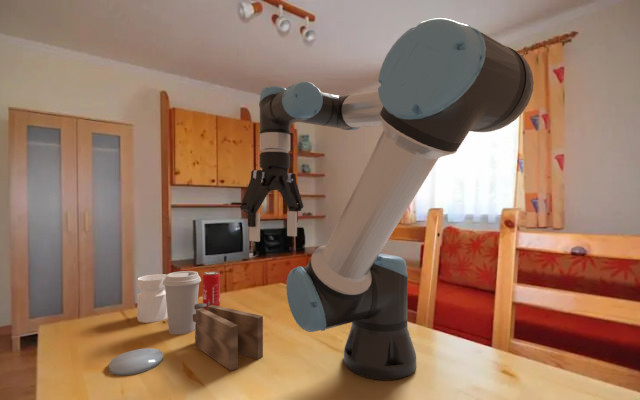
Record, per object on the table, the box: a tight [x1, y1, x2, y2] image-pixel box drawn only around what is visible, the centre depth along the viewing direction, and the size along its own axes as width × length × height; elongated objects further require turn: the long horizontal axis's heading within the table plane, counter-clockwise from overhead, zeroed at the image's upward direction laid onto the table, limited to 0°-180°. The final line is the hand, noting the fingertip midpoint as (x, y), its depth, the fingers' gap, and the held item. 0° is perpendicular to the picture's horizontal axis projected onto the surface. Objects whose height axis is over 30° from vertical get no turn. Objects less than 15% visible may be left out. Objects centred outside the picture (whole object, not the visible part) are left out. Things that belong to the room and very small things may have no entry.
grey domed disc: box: [108, 347, 164, 376], centre depth 71 cm, size 10×10×1 cm
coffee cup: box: [163, 270, 202, 336], centre depth 90 cm, size 10×10×15 cm
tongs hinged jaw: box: [193, 308, 239, 371], centre depth 75 cm, size 19×2×9 cm, turn 45°
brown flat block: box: [194, 302, 264, 360], centre depth 78 cm, size 19×4×9 cm, turn 59°
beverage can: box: [202, 270, 221, 310], centre depth 106 cm, size 5×5×12 cm
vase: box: [136, 273, 168, 324], centre depth 100 cm, size 9×9×12 cm
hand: (274, 238), depth 83 cm, fingers open, 13 cm apart
